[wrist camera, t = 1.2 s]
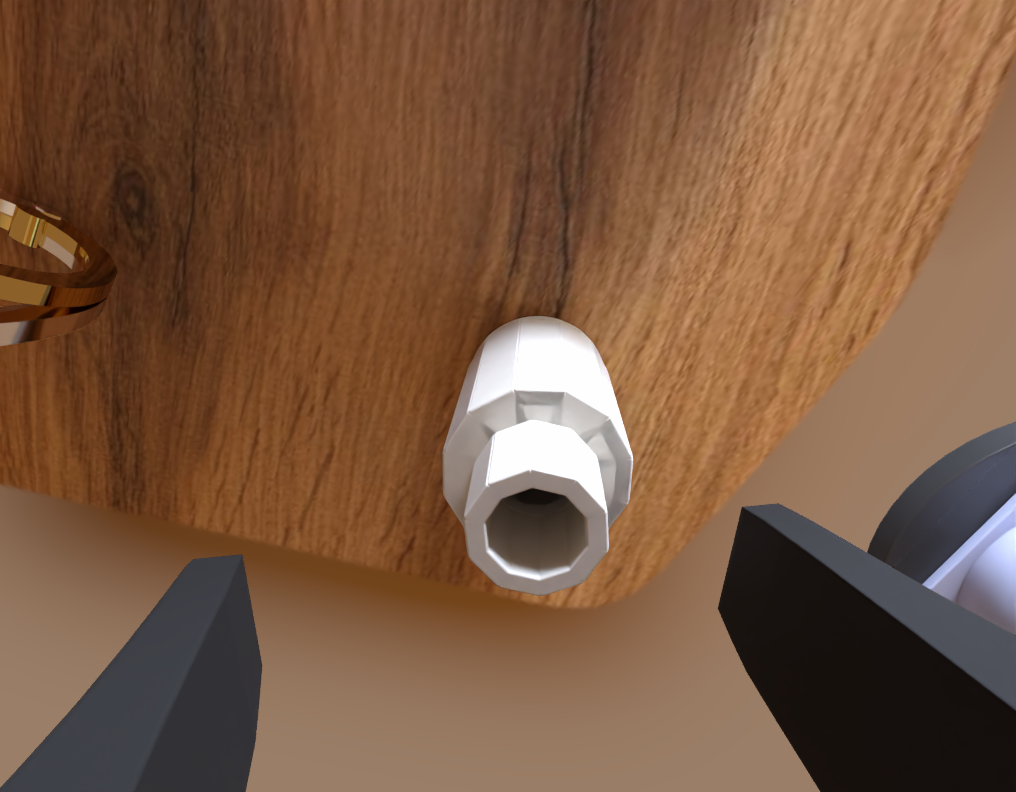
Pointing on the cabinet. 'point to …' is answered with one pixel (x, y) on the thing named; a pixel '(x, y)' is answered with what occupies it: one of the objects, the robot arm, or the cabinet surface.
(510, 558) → the bottle
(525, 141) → the cabinet surface
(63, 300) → the ring
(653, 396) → the cabinet surface
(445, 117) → the cabinet surface
